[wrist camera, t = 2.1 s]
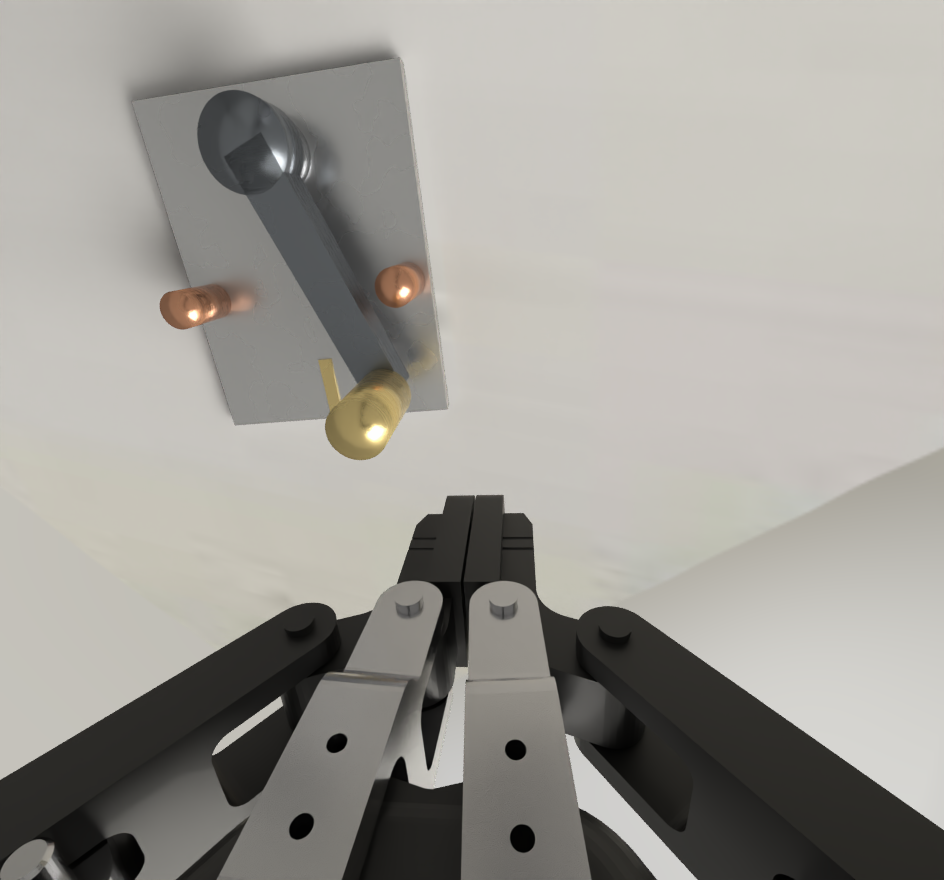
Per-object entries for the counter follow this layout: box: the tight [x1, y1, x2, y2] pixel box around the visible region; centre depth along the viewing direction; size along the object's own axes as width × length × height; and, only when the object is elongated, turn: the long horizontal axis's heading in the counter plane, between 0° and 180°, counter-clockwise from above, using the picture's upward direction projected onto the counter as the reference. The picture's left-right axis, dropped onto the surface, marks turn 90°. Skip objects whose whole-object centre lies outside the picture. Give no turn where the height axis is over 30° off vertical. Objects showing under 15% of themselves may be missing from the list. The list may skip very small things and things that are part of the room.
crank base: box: [131, 58, 449, 425], centre depth 25 cm, size 16×13×4 cm
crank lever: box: [197, 90, 411, 460], centre depth 21 cm, size 15×4×7 cm, turn 26°
